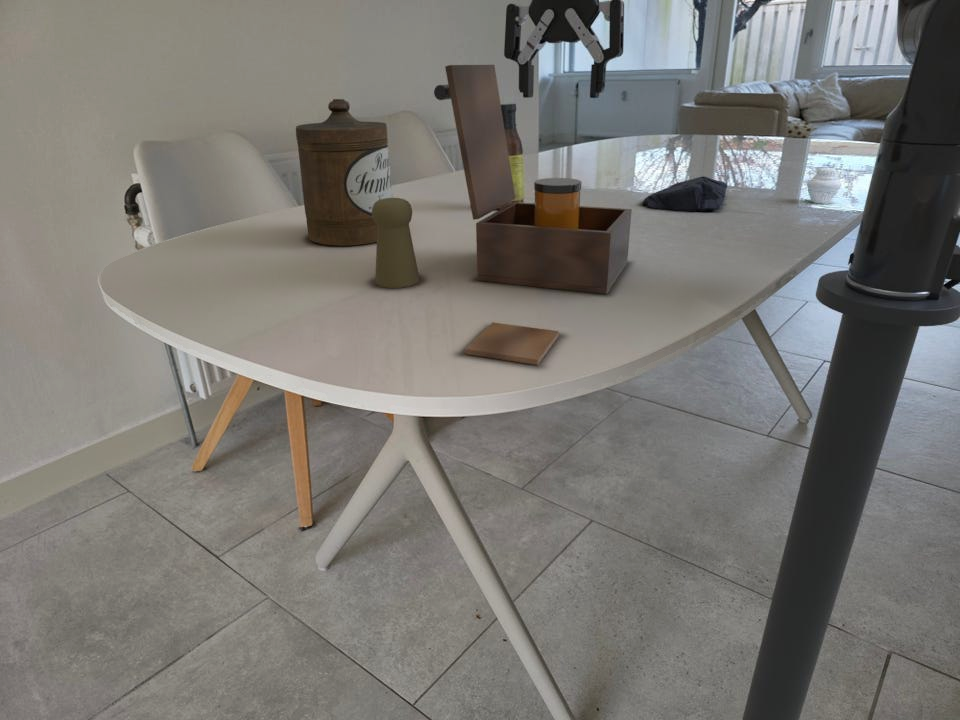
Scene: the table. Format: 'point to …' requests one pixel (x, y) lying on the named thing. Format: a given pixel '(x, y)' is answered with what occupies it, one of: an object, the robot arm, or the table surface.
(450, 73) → the lid
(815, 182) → the white vase
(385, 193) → the wooden container
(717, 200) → the dark slate chunk
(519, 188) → the sauce bottle
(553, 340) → the coaster
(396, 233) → the pepper shaker
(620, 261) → the chest
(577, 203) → the honey jar
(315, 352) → the table surface
